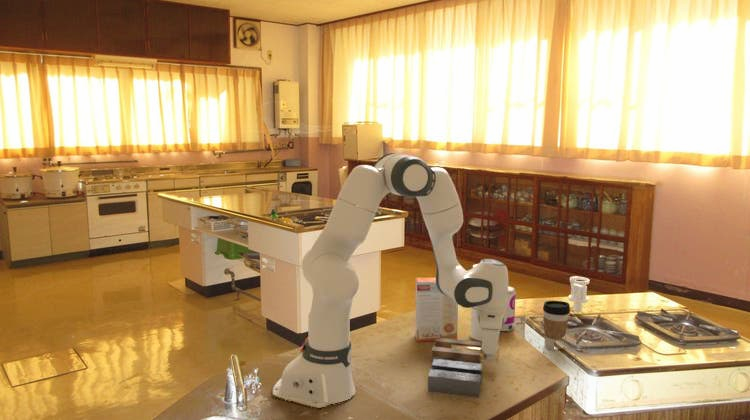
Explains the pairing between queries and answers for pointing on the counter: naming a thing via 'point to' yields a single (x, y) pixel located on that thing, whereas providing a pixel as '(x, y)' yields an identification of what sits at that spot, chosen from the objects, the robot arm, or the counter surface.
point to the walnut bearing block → (455, 350)
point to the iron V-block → (455, 378)
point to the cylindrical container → (475, 323)
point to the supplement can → (510, 310)
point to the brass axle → (482, 356)
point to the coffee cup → (555, 321)
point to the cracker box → (434, 312)
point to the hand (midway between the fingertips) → (489, 357)
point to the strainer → (578, 292)
